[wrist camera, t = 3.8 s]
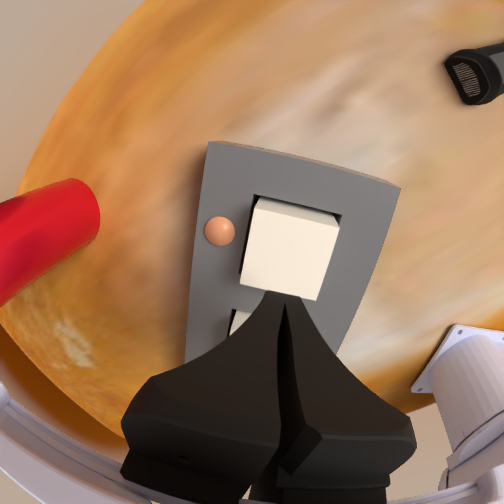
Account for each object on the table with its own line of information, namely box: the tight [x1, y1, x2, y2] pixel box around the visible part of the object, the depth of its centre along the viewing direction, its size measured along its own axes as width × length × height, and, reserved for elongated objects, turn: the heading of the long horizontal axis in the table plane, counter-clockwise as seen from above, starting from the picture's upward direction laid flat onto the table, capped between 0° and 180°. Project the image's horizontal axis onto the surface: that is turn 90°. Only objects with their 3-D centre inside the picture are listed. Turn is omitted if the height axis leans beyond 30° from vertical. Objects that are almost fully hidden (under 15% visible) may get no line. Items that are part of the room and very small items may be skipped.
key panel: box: [185, 141, 401, 364], centre depth 19 cm, size 10×23×3 cm, turn 169°
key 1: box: [240, 196, 340, 301], centre depth 15 cm, size 4×4×3 cm
